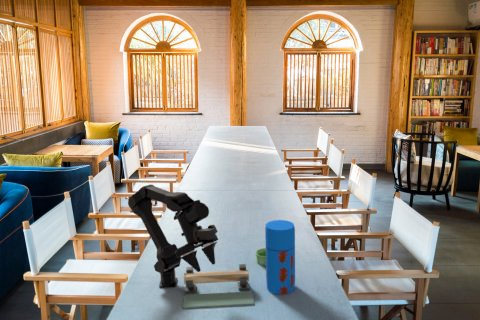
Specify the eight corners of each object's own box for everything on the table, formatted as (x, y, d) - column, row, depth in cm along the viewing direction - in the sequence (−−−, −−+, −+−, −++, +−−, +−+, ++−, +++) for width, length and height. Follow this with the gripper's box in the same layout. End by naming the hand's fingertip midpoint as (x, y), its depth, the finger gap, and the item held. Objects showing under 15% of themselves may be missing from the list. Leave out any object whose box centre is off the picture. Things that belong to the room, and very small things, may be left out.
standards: (185, 286, 174) (184, 267, 172) (248, 283, 175) (247, 263, 173) (184, 295, 167) (183, 275, 165) (249, 292, 168) (248, 272, 166)
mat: (184, 296, 166) (184, 294, 166) (252, 292, 167) (252, 291, 167) (182, 308, 158) (182, 307, 158) (254, 304, 159) (254, 303, 159)
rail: (184, 280, 170) (184, 273, 169) (248, 277, 171) (248, 269, 170) (184, 284, 167) (183, 276, 166) (248, 280, 168) (248, 273, 168)
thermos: (266, 280, 176) (264, 220, 171) (293, 280, 176) (293, 219, 170) (266, 295, 165) (265, 230, 160) (296, 294, 165) (295, 230, 160)
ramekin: (272, 255, 198) (271, 246, 198) (280, 264, 190) (280, 254, 189) (252, 259, 196) (252, 249, 195) (260, 268, 187) (260, 258, 186)
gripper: (190, 223, 149) (209, 267, 147) (220, 213, 165) (237, 253, 163) (166, 235, 154) (184, 278, 152) (198, 224, 171) (214, 263, 168)
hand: (206, 267), depth 159 cm, fingers open, 9 cm apart
